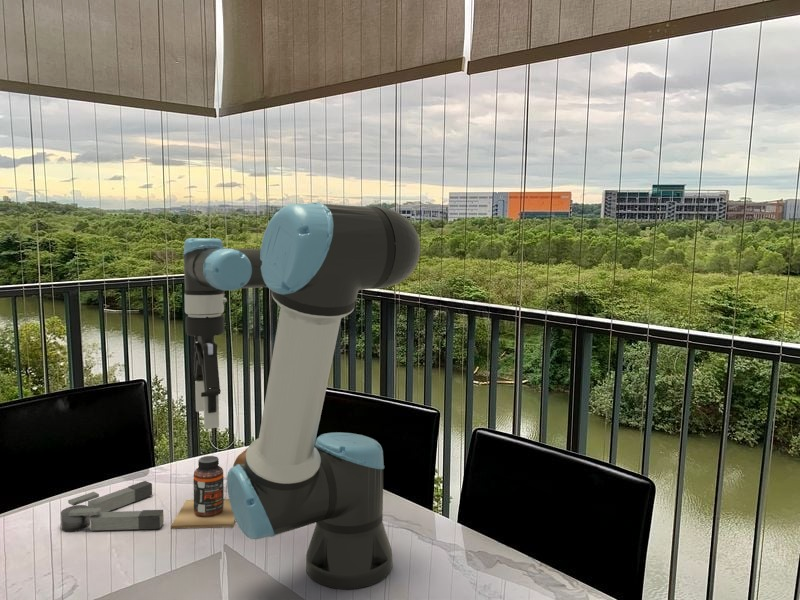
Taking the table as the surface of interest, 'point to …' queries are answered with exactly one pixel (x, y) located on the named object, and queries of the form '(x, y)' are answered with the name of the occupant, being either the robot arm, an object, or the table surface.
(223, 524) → the cork mat
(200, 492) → the supplement bottle
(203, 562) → the table surface
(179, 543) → the table surface
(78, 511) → the tongs base
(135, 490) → the tong jaw
